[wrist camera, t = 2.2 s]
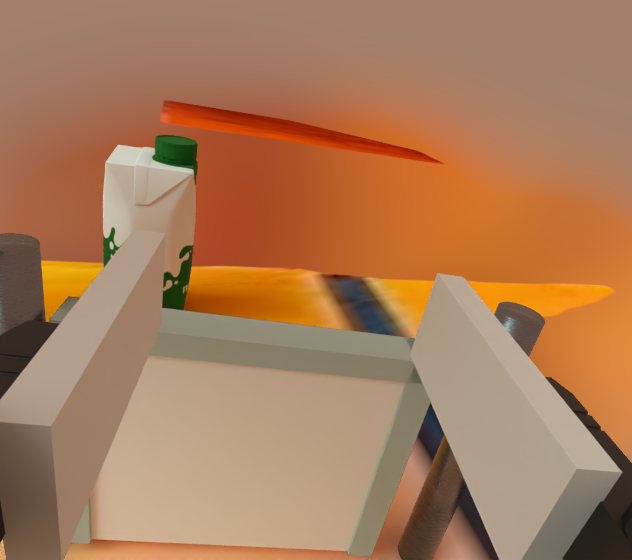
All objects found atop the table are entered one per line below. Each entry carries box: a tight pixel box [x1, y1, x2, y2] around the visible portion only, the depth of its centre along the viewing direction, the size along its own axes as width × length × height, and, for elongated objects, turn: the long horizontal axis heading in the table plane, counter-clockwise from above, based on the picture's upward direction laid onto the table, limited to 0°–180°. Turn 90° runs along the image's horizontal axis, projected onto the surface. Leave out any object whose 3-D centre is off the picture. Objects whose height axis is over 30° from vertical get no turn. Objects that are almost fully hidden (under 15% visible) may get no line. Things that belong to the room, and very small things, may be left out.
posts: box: [0, 233, 545, 560], centre depth 27 cm, size 27×2×20 cm, turn 95°
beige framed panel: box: [49, 296, 430, 557], centre depth 27 cm, size 19×2×16 cm, turn 95°
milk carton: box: [103, 135, 198, 310], centre depth 49 cm, size 9×9×20 cm
